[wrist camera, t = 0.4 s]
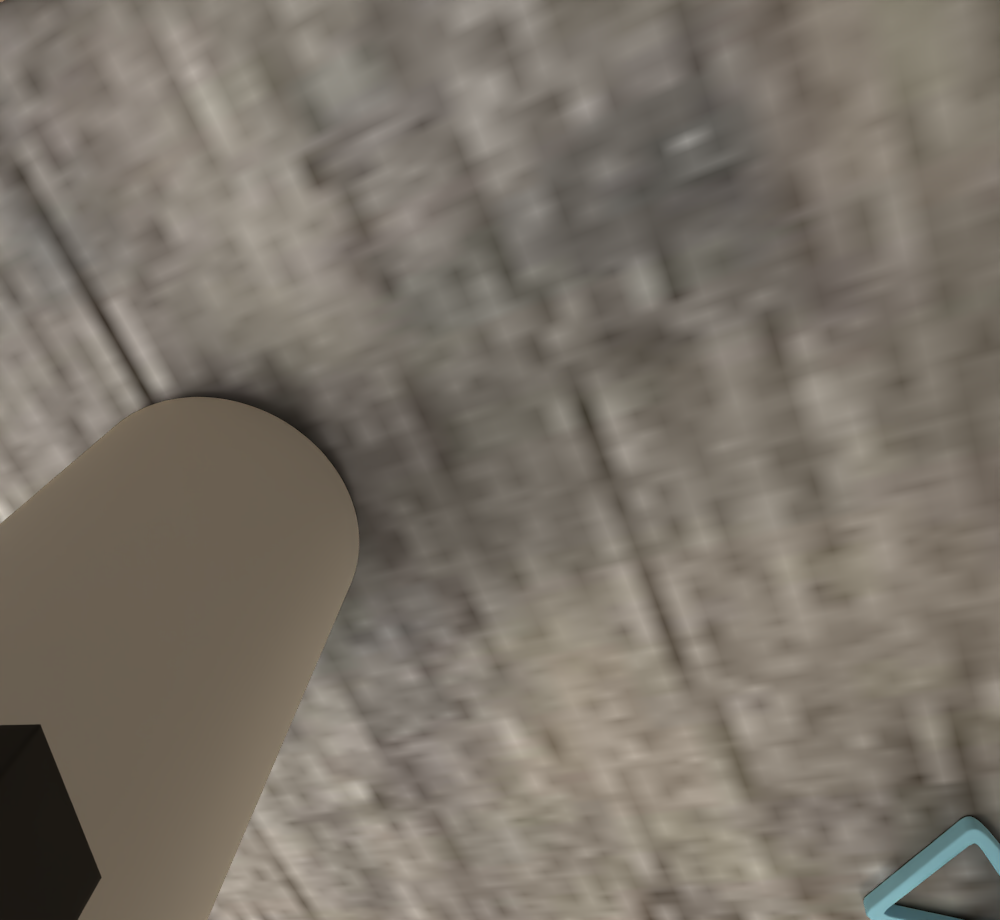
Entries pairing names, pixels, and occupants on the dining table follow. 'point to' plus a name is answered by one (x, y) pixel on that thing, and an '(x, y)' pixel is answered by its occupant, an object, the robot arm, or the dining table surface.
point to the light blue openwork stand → (929, 871)
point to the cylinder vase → (172, 634)
